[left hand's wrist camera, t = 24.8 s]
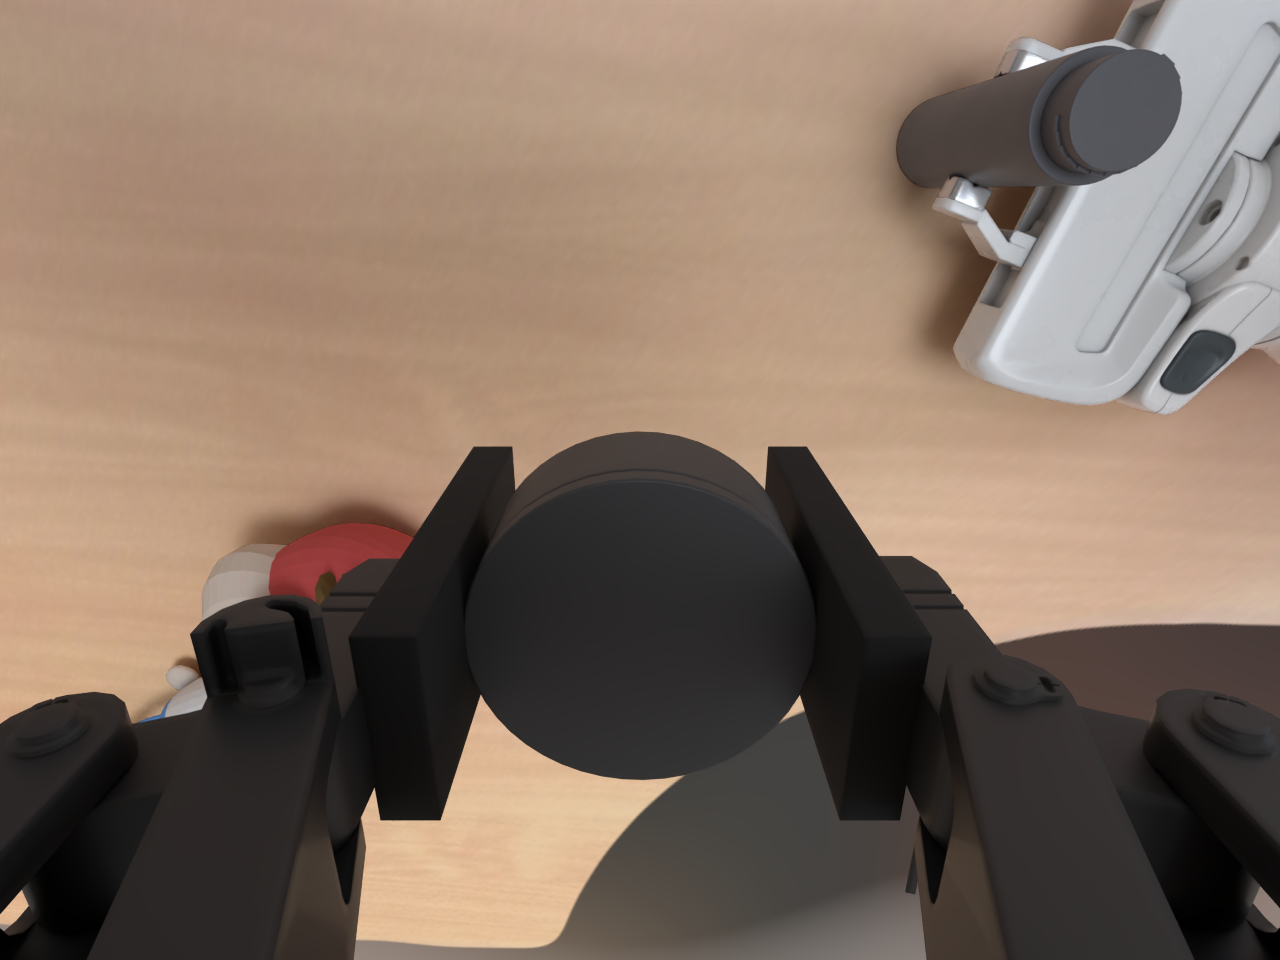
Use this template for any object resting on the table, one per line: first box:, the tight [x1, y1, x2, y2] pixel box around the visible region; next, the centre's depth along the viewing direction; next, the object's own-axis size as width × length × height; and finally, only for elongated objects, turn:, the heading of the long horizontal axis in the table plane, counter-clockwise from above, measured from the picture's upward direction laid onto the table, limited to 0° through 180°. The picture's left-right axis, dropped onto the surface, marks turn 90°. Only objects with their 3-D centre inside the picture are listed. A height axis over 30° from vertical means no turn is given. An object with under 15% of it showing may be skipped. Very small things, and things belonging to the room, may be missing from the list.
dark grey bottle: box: [897, 45, 1182, 188], centre depth 31 cm, size 4×4×16 cm
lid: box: [464, 432, 817, 780], centre depth 11 cm, size 5×5×2 cm
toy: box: [138, 523, 413, 723], centre depth 47 cm, size 18×10×30 cm
